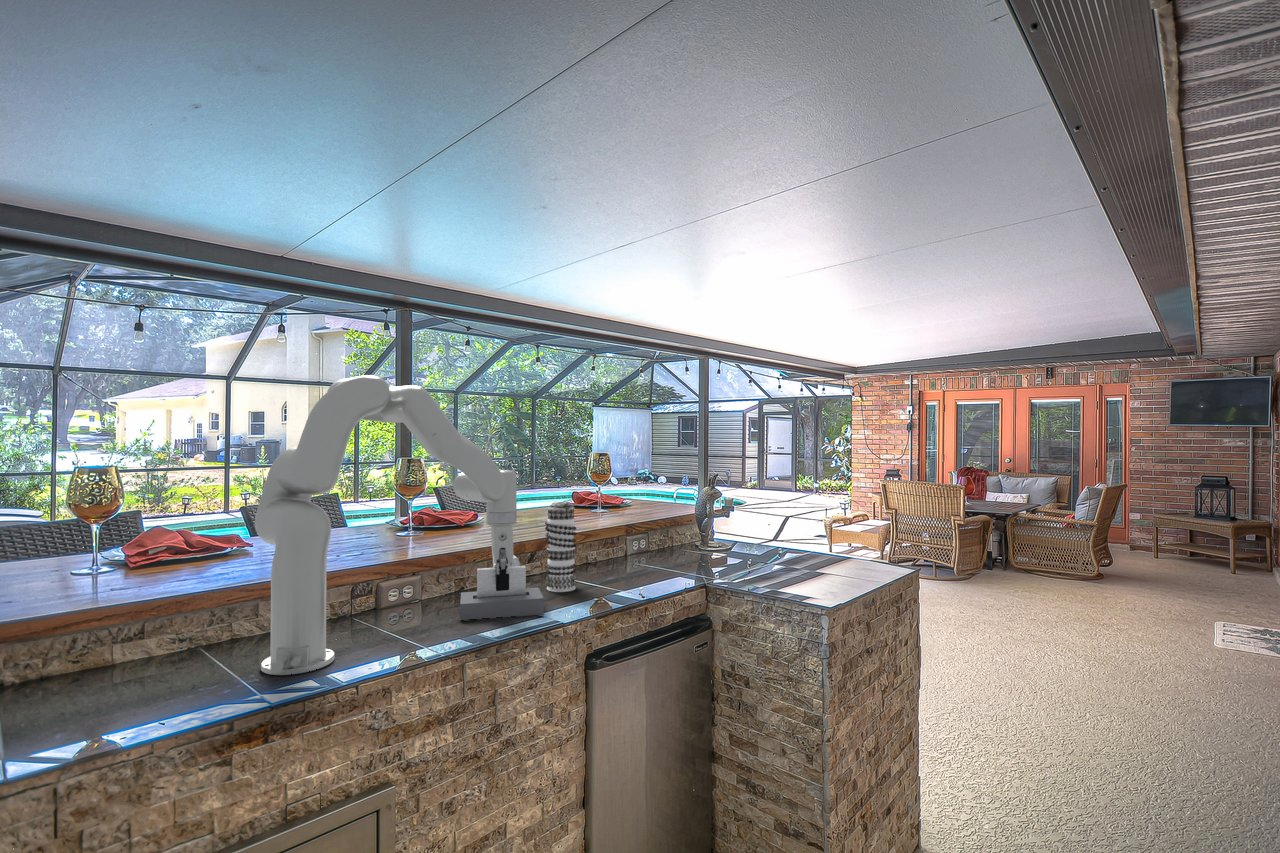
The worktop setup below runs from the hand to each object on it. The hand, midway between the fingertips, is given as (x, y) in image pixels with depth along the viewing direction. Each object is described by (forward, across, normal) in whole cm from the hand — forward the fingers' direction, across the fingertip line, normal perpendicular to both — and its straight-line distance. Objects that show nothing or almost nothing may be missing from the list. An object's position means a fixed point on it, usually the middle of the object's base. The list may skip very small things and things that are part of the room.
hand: (501, 585), depth 160 cm
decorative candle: (+7, +20, -18) cm, 28 cm away
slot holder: (+6, 0, 0) cm, 6 cm away
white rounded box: (+7, +14, -2) cm, 16 cm away
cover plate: (+6, 0, 0) cm, 6 cm away
